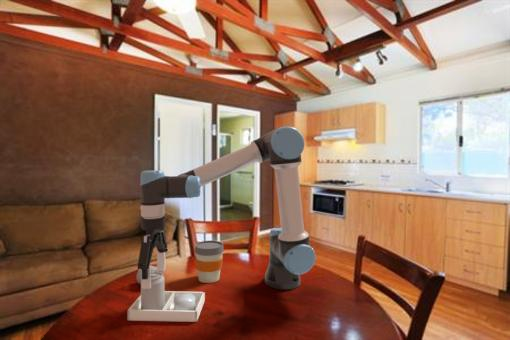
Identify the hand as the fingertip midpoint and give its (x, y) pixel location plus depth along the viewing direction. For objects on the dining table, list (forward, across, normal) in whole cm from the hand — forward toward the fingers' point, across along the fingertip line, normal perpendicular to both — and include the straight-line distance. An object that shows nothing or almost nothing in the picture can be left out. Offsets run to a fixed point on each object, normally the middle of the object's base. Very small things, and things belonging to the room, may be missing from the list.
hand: (154, 278), depth 93 cm
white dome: (+11, 0, +10) cm, 15 cm away
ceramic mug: (+12, -22, -9) cm, 26 cm away
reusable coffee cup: (+12, -27, +14) cm, 32 cm away
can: (+11, 0, -1) cm, 11 cm away
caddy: (+11, 0, +5) cm, 12 cm away
